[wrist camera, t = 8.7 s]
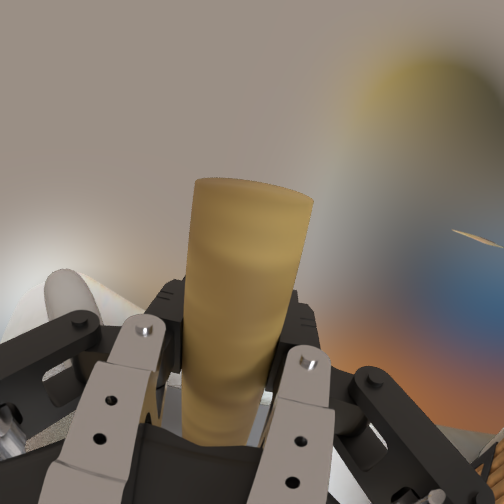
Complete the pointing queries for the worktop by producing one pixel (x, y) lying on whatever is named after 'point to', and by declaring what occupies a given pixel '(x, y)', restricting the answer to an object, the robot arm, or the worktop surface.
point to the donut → (67, 296)
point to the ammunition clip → (492, 469)
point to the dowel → (236, 301)
